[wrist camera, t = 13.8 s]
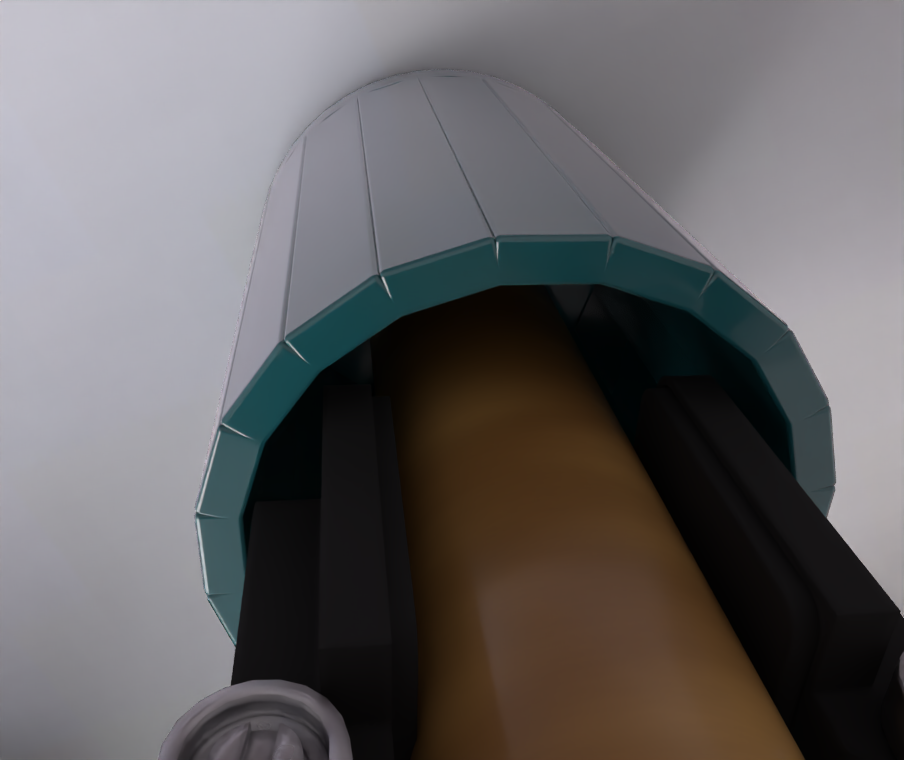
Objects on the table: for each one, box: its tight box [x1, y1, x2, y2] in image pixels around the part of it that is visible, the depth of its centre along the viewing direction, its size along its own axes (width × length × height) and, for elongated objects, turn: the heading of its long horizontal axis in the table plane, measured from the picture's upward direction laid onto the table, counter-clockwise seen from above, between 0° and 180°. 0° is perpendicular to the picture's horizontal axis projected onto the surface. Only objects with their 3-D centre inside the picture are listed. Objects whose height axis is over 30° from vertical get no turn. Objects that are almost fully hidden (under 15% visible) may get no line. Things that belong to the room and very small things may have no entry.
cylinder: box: [370, 285, 805, 760], centre depth 10 cm, size 3×3×14 cm
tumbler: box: [194, 69, 836, 647], centre depth 13 cm, size 7×7×9 cm
